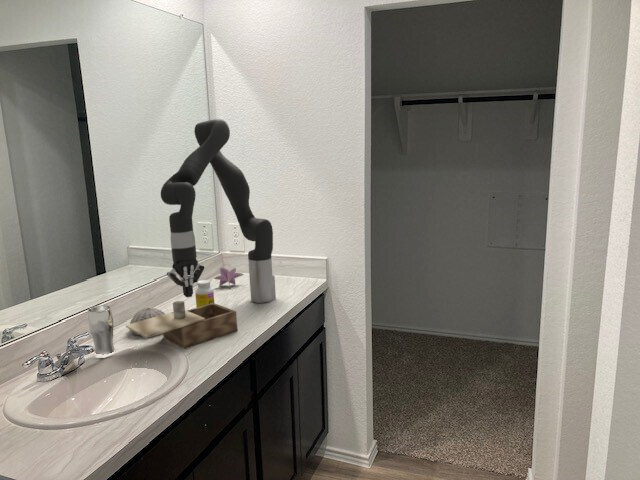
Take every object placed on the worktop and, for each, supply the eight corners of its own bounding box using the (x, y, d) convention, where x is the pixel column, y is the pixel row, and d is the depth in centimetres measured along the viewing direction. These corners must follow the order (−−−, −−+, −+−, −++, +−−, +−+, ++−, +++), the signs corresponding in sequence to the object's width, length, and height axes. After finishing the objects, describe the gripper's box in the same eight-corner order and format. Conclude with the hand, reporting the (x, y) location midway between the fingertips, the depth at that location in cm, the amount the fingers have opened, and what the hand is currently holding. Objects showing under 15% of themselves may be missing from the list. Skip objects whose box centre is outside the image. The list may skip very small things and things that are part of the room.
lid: (183, 310, 174) (181, 295, 173) (205, 319, 164) (203, 303, 163) (125, 326, 160) (123, 310, 159) (146, 338, 150) (144, 320, 149)
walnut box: (214, 321, 183) (213, 302, 182) (237, 330, 173) (236, 311, 172) (163, 337, 170) (161, 317, 168) (184, 348, 160) (182, 327, 158)
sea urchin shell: (153, 340, 168) (150, 317, 167) (120, 336, 173) (117, 313, 172) (177, 326, 181) (175, 304, 179) (146, 322, 185) (144, 301, 184)
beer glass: (93, 361, 153) (87, 313, 150) (92, 353, 159) (86, 307, 156) (118, 356, 156) (112, 309, 153) (115, 348, 162) (110, 303, 159)
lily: (248, 287, 229) (243, 267, 231) (237, 284, 217) (232, 263, 220) (224, 295, 231) (220, 275, 233) (212, 292, 220) (208, 271, 222)
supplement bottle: (211, 318, 187) (208, 284, 185) (194, 317, 188) (191, 284, 186) (218, 312, 194) (215, 279, 191) (201, 311, 195) (199, 279, 192)
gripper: (195, 239, 170) (200, 289, 174) (158, 247, 161) (164, 299, 165) (207, 242, 165) (212, 293, 168) (170, 250, 156) (175, 304, 159)
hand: (188, 296), depth 166 cm, fingers closed
